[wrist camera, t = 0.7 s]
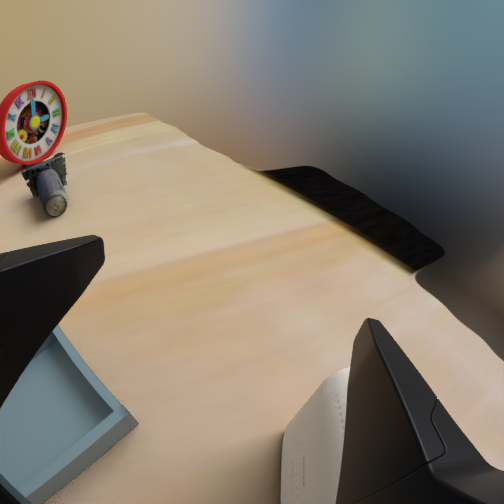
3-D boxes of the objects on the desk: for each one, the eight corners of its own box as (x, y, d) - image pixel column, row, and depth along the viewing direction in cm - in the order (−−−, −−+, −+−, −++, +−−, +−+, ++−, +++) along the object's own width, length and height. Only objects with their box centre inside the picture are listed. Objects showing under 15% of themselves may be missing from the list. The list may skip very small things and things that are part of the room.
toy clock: (11, 180, 44) (-3, 95, 31) (1, 177, 45) (-12, 98, 32) (70, 145, 59) (65, 72, 46) (58, 144, 60) (52, 75, 47)
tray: (11, 525, 6) (-10, 523, 4) (-44, 421, 10) (-62, 408, 8) (138, 423, 18) (129, 412, 16) (63, 334, 22) (52, 315, 20)
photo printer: (278, 421, 20) (335, 343, 12) (329, 421, 20) (412, 344, 12) (274, 538, 12) (345, 573, 4) (331, 533, 12) (442, 539, 4)
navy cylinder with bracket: (35, 202, 41) (47, 234, 36) (19, 169, 35) (26, 197, 30) (73, 177, 45) (92, 204, 40) (61, 143, 39) (77, 165, 34)
